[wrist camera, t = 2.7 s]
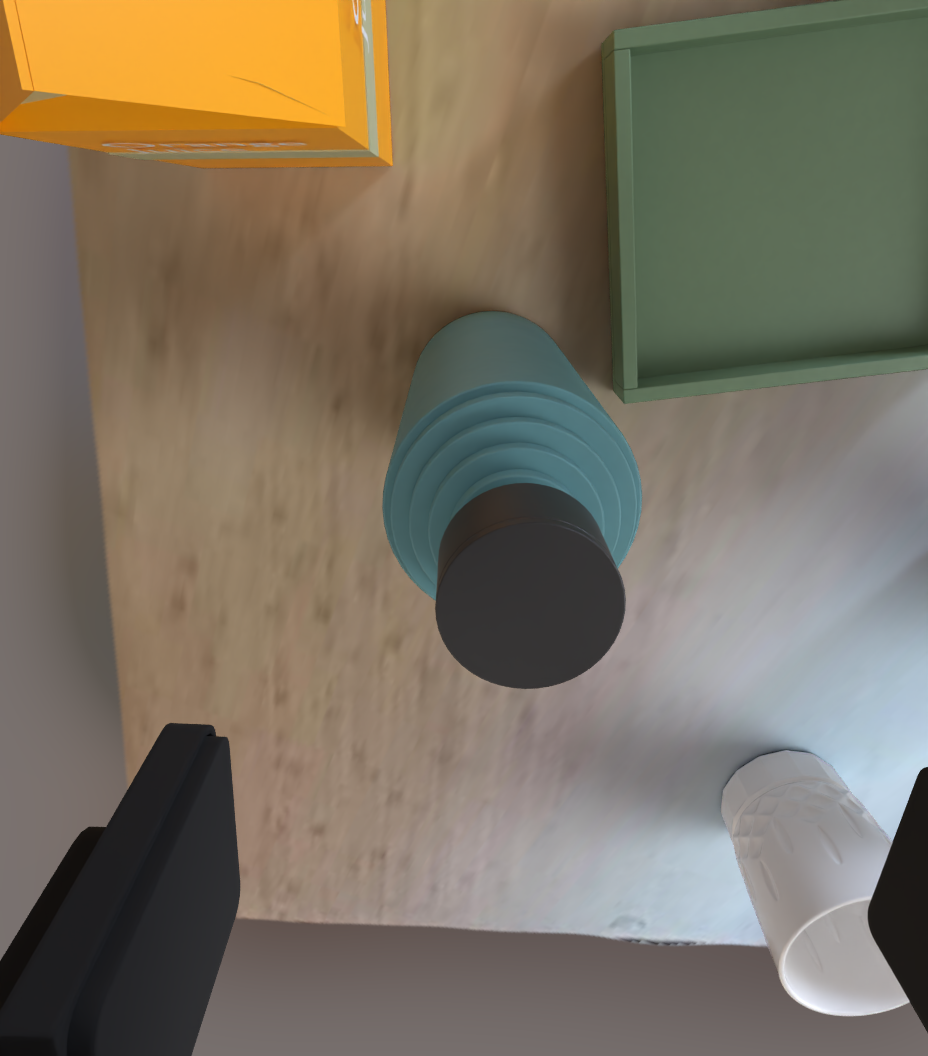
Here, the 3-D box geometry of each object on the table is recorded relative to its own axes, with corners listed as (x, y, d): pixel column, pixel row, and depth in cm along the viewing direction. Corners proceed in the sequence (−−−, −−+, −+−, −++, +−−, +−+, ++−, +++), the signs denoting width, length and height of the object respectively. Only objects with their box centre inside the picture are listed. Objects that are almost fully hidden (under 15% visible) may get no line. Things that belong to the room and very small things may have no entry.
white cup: (755, 722, 40) (843, 875, 31) (877, 765, 41) (997, 923, 32) (684, 825, 43) (746, 992, 34) (800, 861, 44) (890, 1033, 35)
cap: (427, 492, 16) (423, 534, 14) (601, 472, 16) (623, 512, 14) (448, 640, 18) (447, 698, 16) (608, 623, 18) (628, 679, 16)
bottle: (401, 320, 31) (330, 459, 14) (564, 301, 31) (700, 417, 14) (423, 475, 34) (388, 751, 17) (574, 458, 34) (697, 720, 16)
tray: (601, 43, 28) (613, 29, 25) (1016, -12, 27) (1064, -31, 25) (613, 391, 33) (623, 404, 31) (961, 351, 32) (997, 361, 30)
